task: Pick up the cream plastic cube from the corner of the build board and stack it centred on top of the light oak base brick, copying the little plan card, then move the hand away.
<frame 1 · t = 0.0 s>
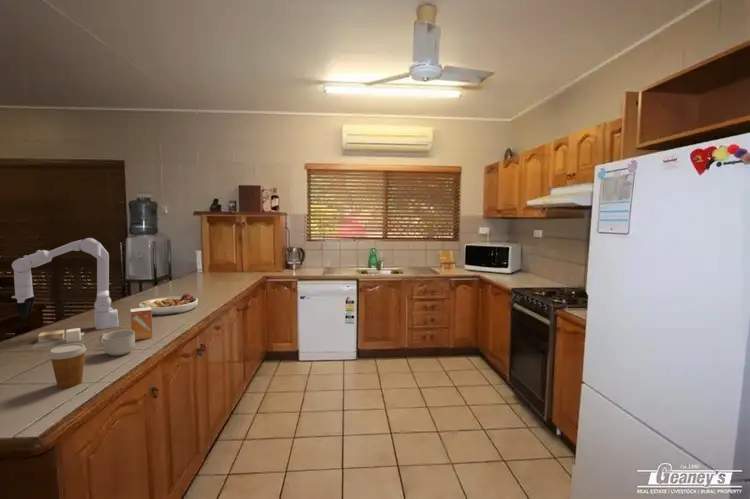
hand: (25, 315, 169), 10 cm above the counter, tool pointing down, fingers open, 7 cm apart
bowl: (169, 310, 223), on the counter
small box: (142, 338, 172), on the counter
oak base brick: (52, 339, 165), point 1 cm above the counter, touching build board
cream cube: (73, 340, 165), point 1 cm above the counter, touching build board
teacup: (116, 353, 152), on the counter
build board: (60, 341, 165), on the counter
disposable coffee cup: (70, 384, 124), on the counter
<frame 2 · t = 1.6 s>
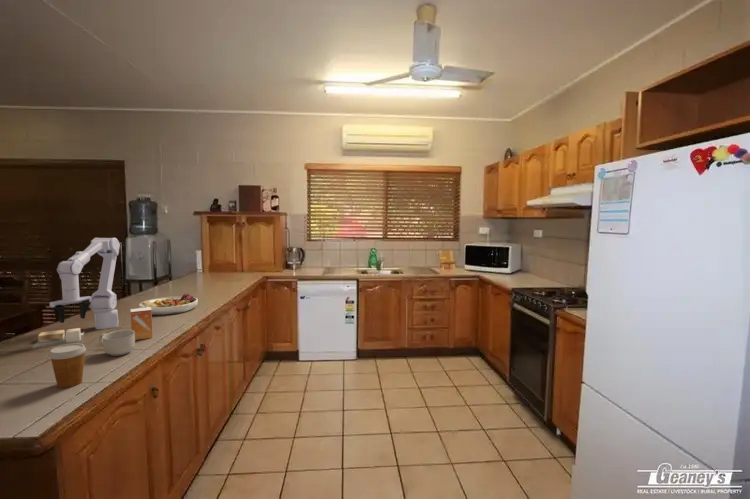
hand: (72, 320, 164), 10 cm above the counter, tool pointing down, fingers open, 7 cm apart
nothing on the counter moved.
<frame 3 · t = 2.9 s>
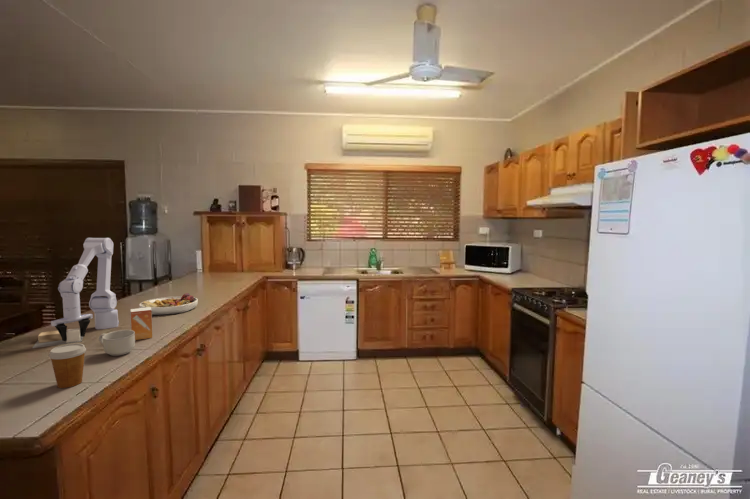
hand: (73, 338, 165), 2 cm above the counter, tool pointing down, fingers closed on cream cube, 6 cm apart
cream cube: (73, 340, 165), point 1 cm above the counter, touching build board, gripper
everything else where it was.
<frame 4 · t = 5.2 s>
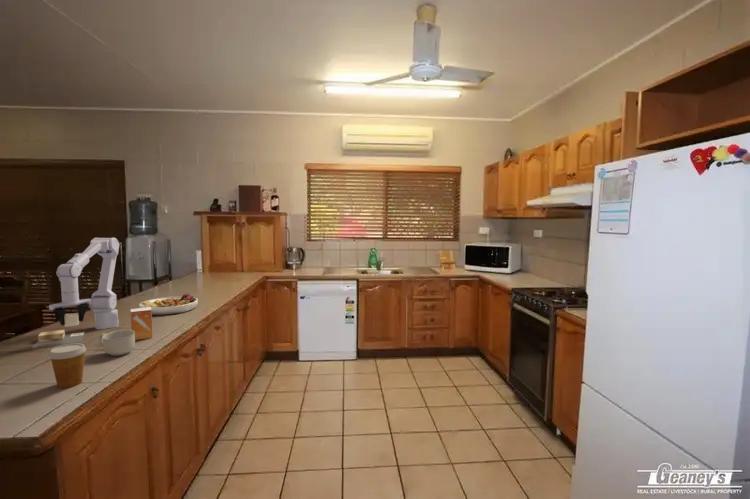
hand: (72, 322, 164), 8 cm above the counter, tool pointing down, fingers closed on cream cube, 6 cm apart
cream cube: (72, 324, 164), point 8 cm above the counter, touching gripper
everything else where it was.
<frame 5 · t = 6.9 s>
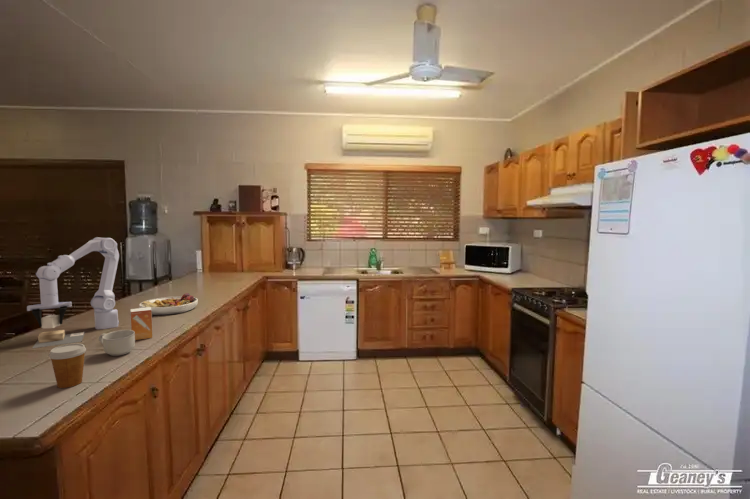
hand: (51, 324, 165), 7 cm above the counter, tool pointing down, fingers closed on cream cube, 6 cm apart
cream cube: (51, 326, 165), point 6 cm above the counter, touching gripper
everything else where it was.
when the fingers open (6 cm above the counter, at t = 7.8 s): cream cube drops 1 cm, resting on oak base brick.
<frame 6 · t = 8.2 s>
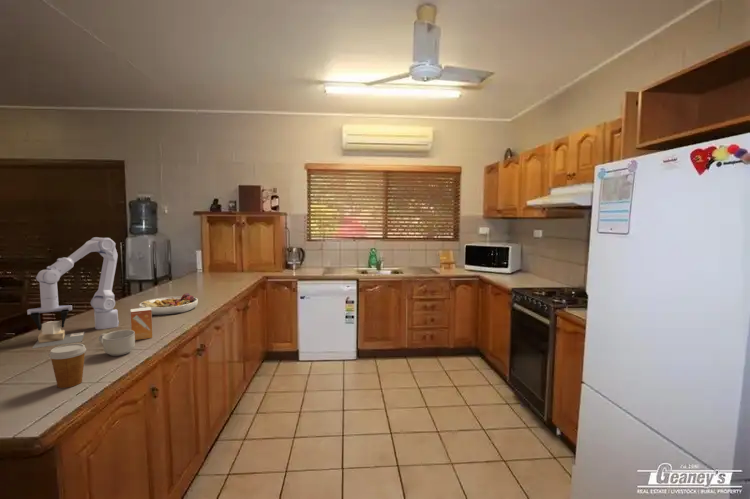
hand: (51, 328, 165), 6 cm above the counter, tool pointing down, fingers open, 7 cm apart
oak base brick: (52, 339, 165), point 1 cm above the counter, touching build board, cream cube
cream cube: (51, 332, 165), point 4 cm above the counter, touching oak base brick
everything else where it was.
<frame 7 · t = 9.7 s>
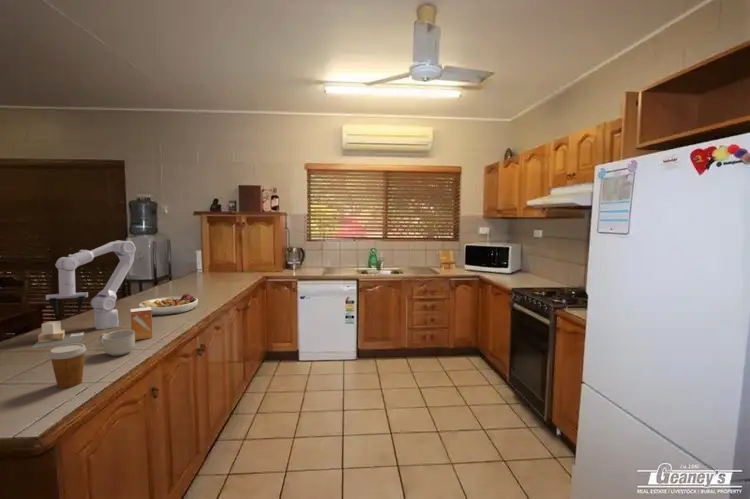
hand: (68, 314, 171), 10 cm above the counter, tool pointing down, fingers open, 7 cm apart
nothing on the counter moved.
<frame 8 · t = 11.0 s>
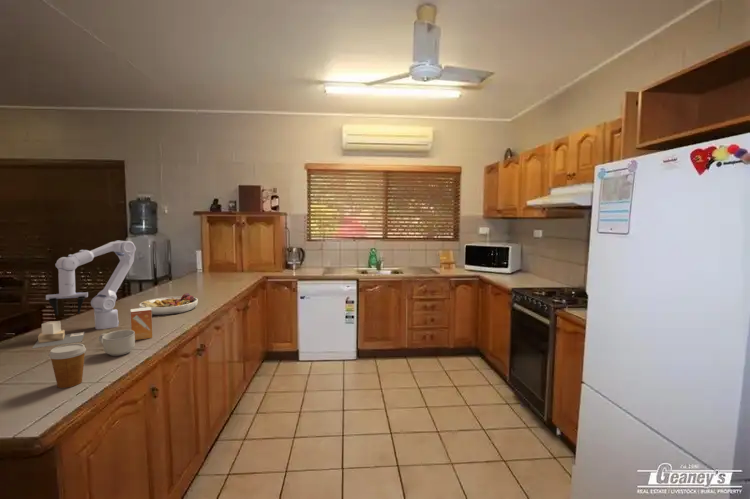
hand: (68, 314, 171), 10 cm above the counter, tool pointing down, fingers open, 7 cm apart
nothing on the counter moved.
at the end: cream cube 0.0 cm off-centre on the oak base brick, point 3.0 cm above the oak base brick's base; cream cube tilted 0°; the gripper is holding nothing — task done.
